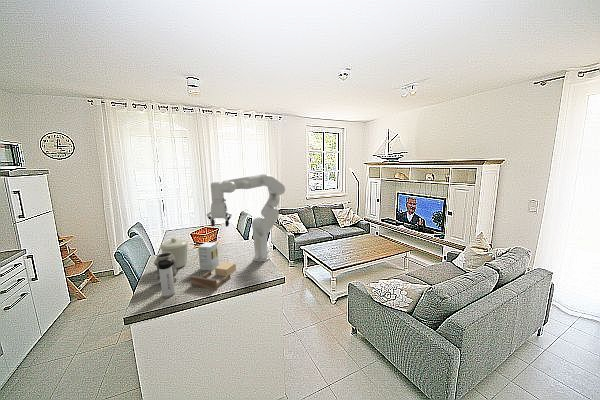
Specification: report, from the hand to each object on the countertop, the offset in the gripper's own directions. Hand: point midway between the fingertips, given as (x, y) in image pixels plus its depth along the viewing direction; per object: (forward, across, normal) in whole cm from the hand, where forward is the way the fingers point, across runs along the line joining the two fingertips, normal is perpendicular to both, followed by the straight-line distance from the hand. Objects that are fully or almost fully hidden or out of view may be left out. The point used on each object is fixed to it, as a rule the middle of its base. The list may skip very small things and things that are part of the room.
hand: (220, 226), depth 160 cm
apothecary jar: (+31, +28, +19) cm, 46 cm away
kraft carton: (+31, -3, +4) cm, 31 cm away
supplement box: (+31, +12, -2) cm, 33 cm away
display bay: (+31, 0, +17) cm, 35 cm away
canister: (+31, +37, -4) cm, 48 cm away
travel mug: (+31, +18, +33) cm, 49 cm away
